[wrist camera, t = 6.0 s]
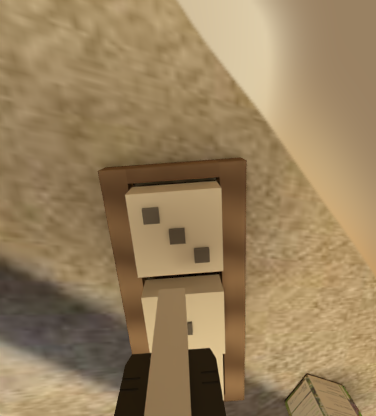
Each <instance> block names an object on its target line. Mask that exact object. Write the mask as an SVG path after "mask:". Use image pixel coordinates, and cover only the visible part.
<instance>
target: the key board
mask: <svg viewBox="0 0 376 416" xmlns="http://www.w3.org/2000/svg"><path fill="white" fill-rule="evenodd" d="M98 174H99V179H100V185H101V190H102V195H103V201H104V206H105V211H106V217H107V222H108V227H109V233H110V238H111V243H112V248H113V254H114V259H115V264H116V270H117V275H118V280H119V286H120V291H121V296H122V302H123V307H124V312H125V317H126V323H127V328H128V333H129V339H130V344H131V349H132V354H143V353H150V351H149V344H148V338H147V332H146V325H145V319H144V313H143V306H142V300H141V297H142V292H143V288H144V284H145V280H147V278H146V277H140V278H138V274H137V268H136V262H135V255H134V249H133V243H132V236H131V230H130V224H129V217H128V211H127V204H126V198H125V194H126V193H127V192H128V191H129V190H130V189H131V187H133V183H145V182H159V181H173V180H186V179H200V178H213V177H216V181H217V183H218V184H219V185H220V187H221V192H222V234H223V271H217V272H219V276H220V279H221V283H222V287H223V290H224V318H225V354H223V383H224V400H223V401H236V400H244V354H245V256H246V160H244V159H242V158H230V159H216V160H203V161H189V162H175V163H161V164H148V165H134V166H120V167H107V168H104V169H101V170H99V171H98ZM204 273H207V272H204ZM191 274H194V273H191ZM178 275H181V274H178ZM166 276H169V275H166ZM153 277H156V276H153Z"/></svg>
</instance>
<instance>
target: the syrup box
mask: <svg viewBox="0 0 376 416" xmlns="http://www.w3.org/2000/svg"><path fill="white" fill-rule="evenodd" d="M285 405H286V408H287V411H288V414H289V416H362V415H361V413H360V411H359V410H358V408H357V407H356V405H355V403H354V402H353V400H352V399H351V397H350V396H349V394H348V392H347V391H346V389H345V388H344V386H342V385H340V384H337V383H334V382H331V381H328V380H324V379H321V378H318V377H314V376H311V375H306V376H305V377H304V379H303V380H302V381H301V382H300V384H299V385H298V386H297V388H296V389H295V390H294V391H293V393H292V394H291V395H290V396H289V397H288V399H287V400H286V401H285Z"/></svg>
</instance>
